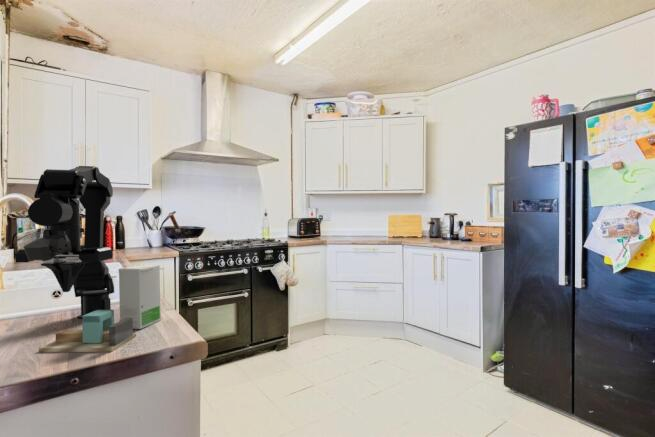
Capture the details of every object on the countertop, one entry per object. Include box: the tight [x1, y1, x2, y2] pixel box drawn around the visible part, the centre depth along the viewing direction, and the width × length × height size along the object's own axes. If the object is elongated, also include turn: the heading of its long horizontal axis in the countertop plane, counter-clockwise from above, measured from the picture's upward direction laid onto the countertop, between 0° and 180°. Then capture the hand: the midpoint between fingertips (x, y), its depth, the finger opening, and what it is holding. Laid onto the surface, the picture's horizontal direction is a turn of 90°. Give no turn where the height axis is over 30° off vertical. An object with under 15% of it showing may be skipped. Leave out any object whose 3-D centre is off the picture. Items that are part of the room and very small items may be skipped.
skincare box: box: [118, 264, 162, 330], centre depth 91 cm, size 8×7×16 cm
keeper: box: [81, 309, 115, 343], centre depth 78 cm, size 4×5×6 cm
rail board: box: [38, 317, 137, 353], centre depth 78 cm, size 16×9×5 cm, turn 89°
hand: (66, 291), depth 79 cm, fingers closed
